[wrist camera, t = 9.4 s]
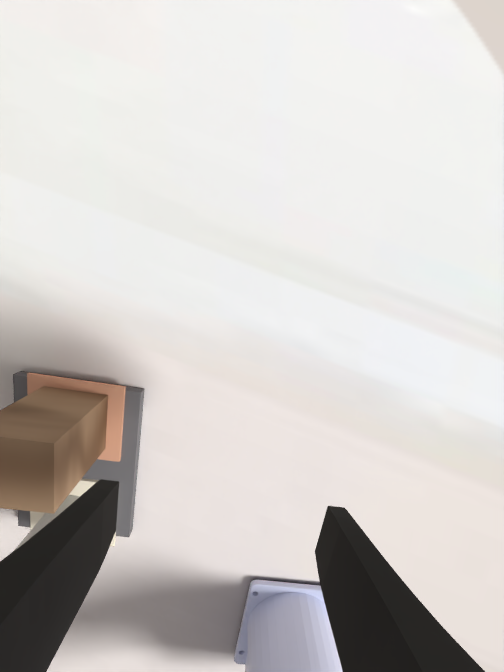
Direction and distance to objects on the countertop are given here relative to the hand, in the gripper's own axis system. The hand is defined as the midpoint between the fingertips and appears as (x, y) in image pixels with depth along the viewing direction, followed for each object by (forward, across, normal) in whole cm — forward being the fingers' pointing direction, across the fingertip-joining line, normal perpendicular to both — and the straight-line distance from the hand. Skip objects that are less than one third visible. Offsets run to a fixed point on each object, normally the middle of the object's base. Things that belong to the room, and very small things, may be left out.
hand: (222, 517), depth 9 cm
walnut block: (+9, +10, +3) cm, 14 cm away
